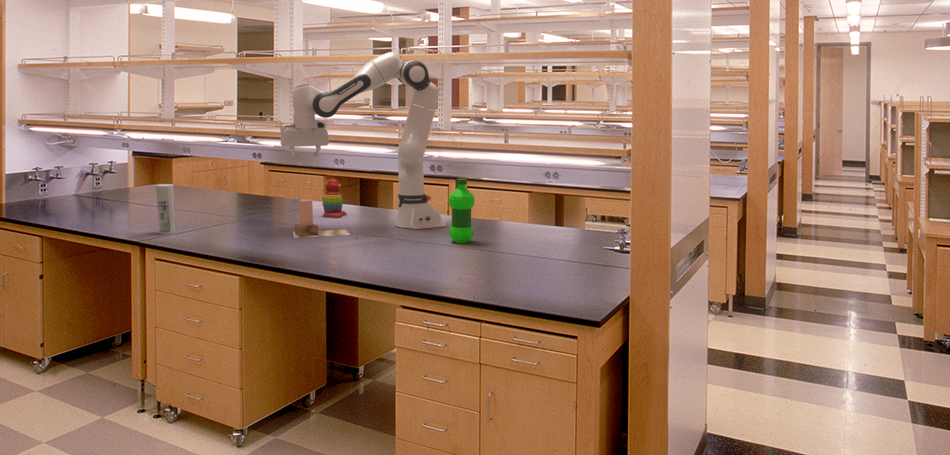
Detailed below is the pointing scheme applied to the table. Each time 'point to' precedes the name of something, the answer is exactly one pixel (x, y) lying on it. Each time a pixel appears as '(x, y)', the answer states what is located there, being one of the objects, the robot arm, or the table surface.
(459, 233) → the plastic bottle
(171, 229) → the spray can
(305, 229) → the walnut plinth
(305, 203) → the terracotta pillar
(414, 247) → the table surface
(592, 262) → the table surface
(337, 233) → the birch base board
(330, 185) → the stacking bear
